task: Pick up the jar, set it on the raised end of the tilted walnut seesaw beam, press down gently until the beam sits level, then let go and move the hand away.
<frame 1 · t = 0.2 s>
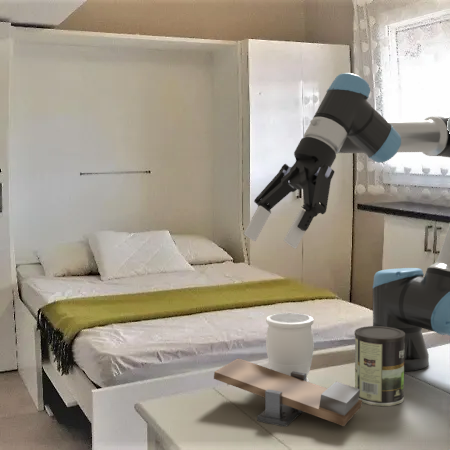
hand: (268, 241, 121), 35 cm above the table, tool tilted 35°, fingers open, 13 cm apart
coffee can: (378, 398, 137), on the table
beam: (287, 383, 129), point 6 cm above the table, hinge at 9.0°
jar: (289, 383, 146), on the table
pivot stand: (286, 411, 130), on the table
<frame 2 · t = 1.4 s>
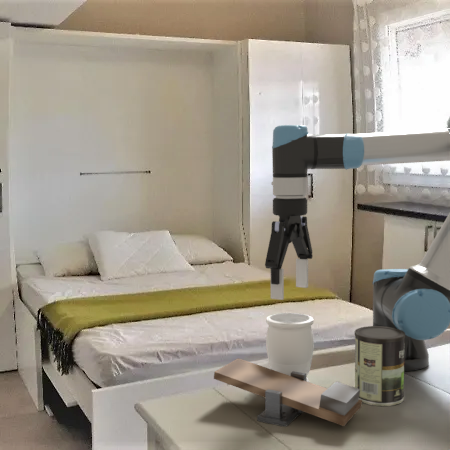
hand: (290, 292, 143), 21 cm above the table, tool pointing down, fingers open, 13 cm apart
nothing on the table moved.
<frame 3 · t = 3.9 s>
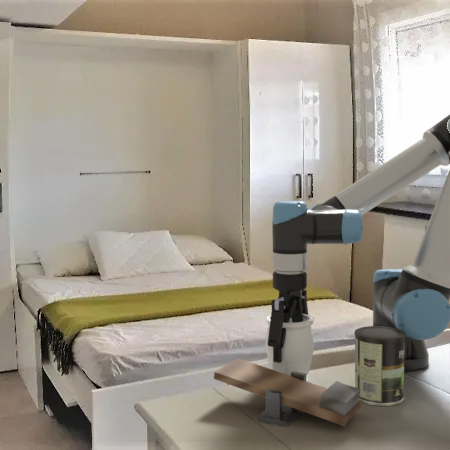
hand: (289, 368, 145), 3 cm above the table, tool pointing down, fingers closed on jar, 10 cm apart
jar: (289, 383, 146), on the table, touching gripper
everything else where it was.
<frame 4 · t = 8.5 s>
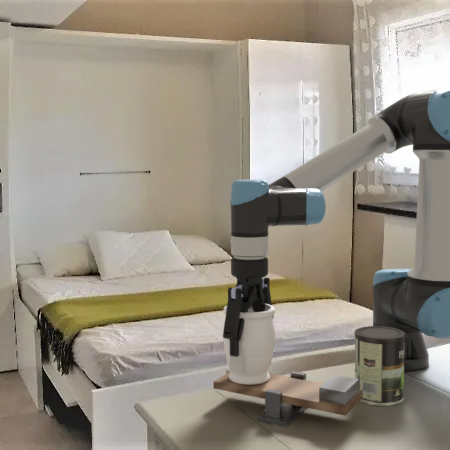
hand: (249, 363, 133), 9 cm above the table, tool pointing down, fingers closed on jar, 10 cm apart
beam: (286, 383, 129), point 6 cm above the table, hinge at 0.6°, touching jar
jar: (249, 379, 133), point 5 cm above the table, touching beam, gripper
everything else where it was.
when the fingers open (9 cm above the table, at t = 9.7 s): jar stays where it is, resting on beam.
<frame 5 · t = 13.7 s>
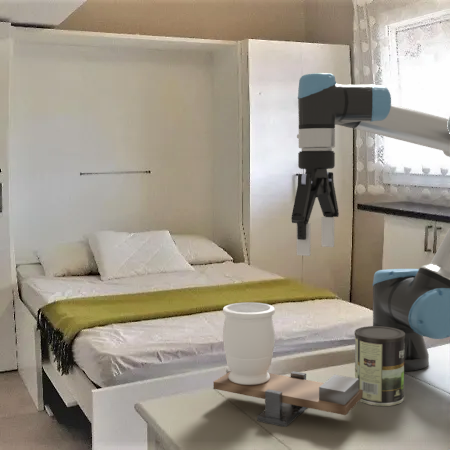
hand: (316, 251, 137), 31 cm above the table, tool pointing down, fingers open, 13 cm apart
beam: (286, 383, 129), point 6 cm above the table, hinge at 0.3°, touching jar
jar: (249, 379, 133), point 5 cm above the table, touching beam
everything else where it was.
at the end: beam at +0° (first picture: +9°); jar inside the target area on the beam (0.4 cm from its centre), point 0.6 cm above the beam's base; jar tilted 0° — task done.
